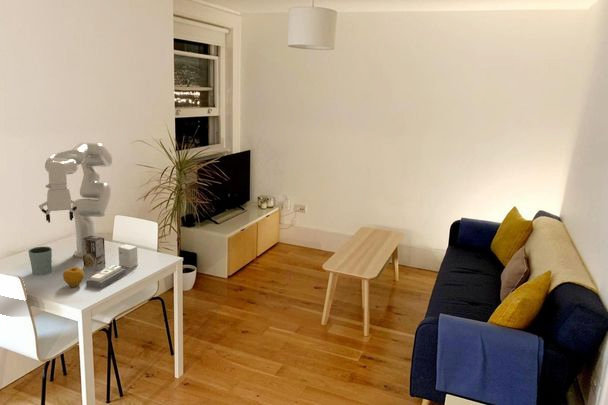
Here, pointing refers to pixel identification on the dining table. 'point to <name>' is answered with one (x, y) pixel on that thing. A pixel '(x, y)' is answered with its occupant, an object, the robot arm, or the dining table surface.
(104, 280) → the keypad housing
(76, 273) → the apple
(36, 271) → the green cup
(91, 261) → the coffee box
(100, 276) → the key
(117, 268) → the key
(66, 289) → the dining table surface
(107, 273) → the key middle
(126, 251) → the small box
